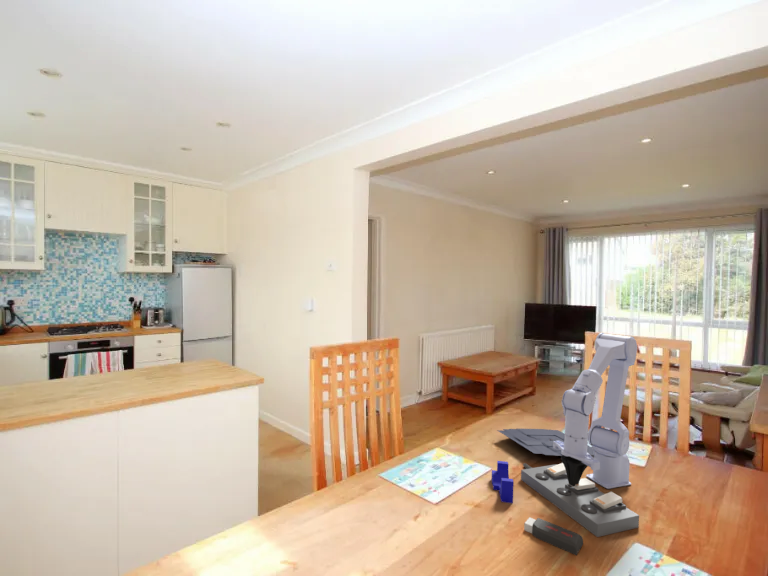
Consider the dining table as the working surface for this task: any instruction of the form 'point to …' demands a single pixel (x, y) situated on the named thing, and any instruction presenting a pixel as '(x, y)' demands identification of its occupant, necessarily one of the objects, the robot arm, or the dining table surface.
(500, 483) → the blue pipe cradle
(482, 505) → the dining table surface
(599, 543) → the dining table surface
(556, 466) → the rocker
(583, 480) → the rocker middle
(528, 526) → the usb drive
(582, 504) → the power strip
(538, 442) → the grey ridged plate
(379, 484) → the dining table surface
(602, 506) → the rocker
